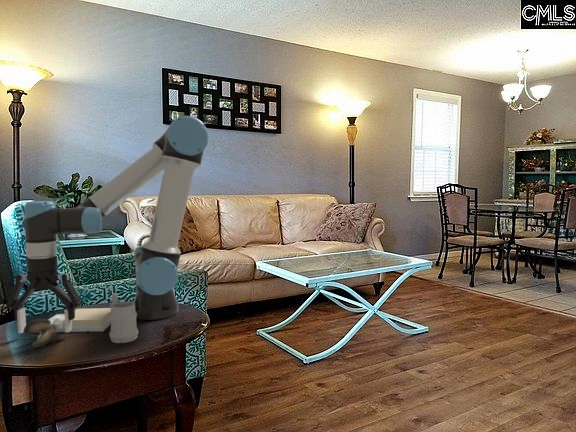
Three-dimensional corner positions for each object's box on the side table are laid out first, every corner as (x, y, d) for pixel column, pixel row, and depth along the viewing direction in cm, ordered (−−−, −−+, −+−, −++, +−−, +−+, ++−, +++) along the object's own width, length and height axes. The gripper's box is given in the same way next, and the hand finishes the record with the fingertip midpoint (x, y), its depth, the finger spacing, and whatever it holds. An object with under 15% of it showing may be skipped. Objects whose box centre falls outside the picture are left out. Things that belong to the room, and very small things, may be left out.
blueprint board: (119, 316, 144) (118, 307, 144) (103, 331, 130) (102, 320, 130) (57, 317, 143) (56, 308, 143) (34, 332, 129) (33, 321, 129)
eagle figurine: (34, 331, 127) (16, 336, 118) (49, 310, 128) (31, 313, 119) (56, 345, 127) (39, 352, 118) (70, 324, 127) (55, 329, 119)
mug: (116, 346, 118) (114, 302, 117) (99, 335, 127) (98, 294, 126) (143, 338, 124) (141, 297, 123) (125, 328, 132) (124, 289, 131)
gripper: (91, 253, 127) (94, 326, 128) (5, 254, 126) (9, 327, 128) (80, 258, 119) (83, 335, 121) (-12, 259, 118) (-7, 336, 120)
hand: (45, 331), depth 124 cm, fingers open, 12 cm apart
